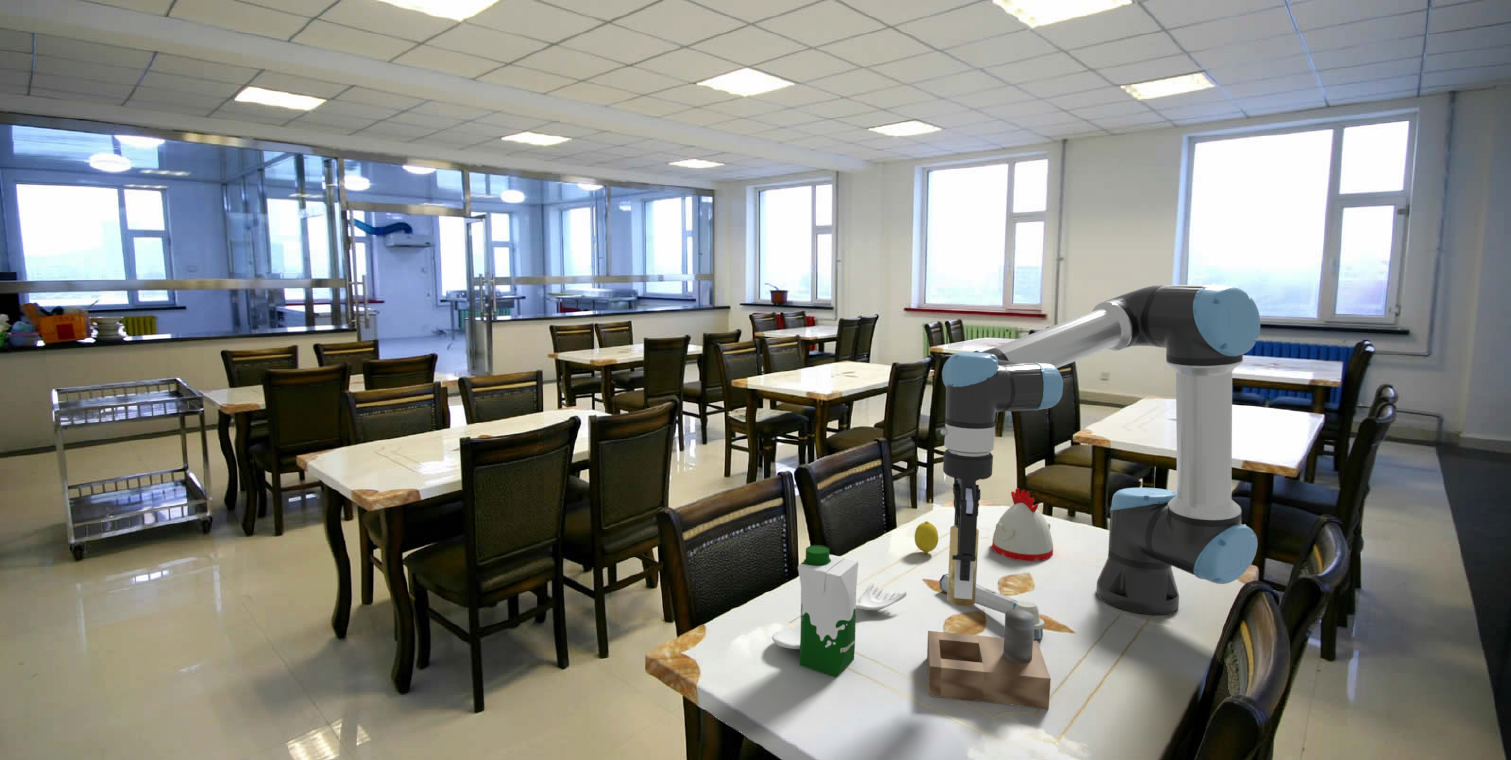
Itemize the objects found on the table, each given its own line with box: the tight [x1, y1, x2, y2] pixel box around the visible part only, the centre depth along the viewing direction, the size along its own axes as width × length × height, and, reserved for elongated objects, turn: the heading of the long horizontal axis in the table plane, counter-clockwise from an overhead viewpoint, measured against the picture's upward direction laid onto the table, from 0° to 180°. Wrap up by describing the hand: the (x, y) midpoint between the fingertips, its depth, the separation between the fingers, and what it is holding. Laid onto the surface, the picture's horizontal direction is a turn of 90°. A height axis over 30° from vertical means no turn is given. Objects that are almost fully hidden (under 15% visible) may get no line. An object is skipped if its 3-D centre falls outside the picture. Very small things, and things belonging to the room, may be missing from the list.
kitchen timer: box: [991, 487, 1054, 562], centre depth 179 cm, size 14×14×15 cm
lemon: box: [914, 520, 939, 555], centre depth 177 cm, size 6×6×8 cm
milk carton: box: [797, 544, 859, 678], centre depth 126 cm, size 9×9×20 cm
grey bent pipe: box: [939, 573, 1045, 641], centre depth 146 cm, size 5×7×25 cm
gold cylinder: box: [946, 525, 980, 607], centre depth 120 cm, size 4×4×12 cm
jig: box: [926, 609, 1052, 710], centre depth 121 cm, size 18×12×12 cm, turn 79°
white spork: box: [771, 582, 908, 650], centre depth 140 cm, size 9×32×4 cm, turn 133°
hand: (961, 590), depth 120 cm, fingers closed on gold cylinder, 4 cm apart
